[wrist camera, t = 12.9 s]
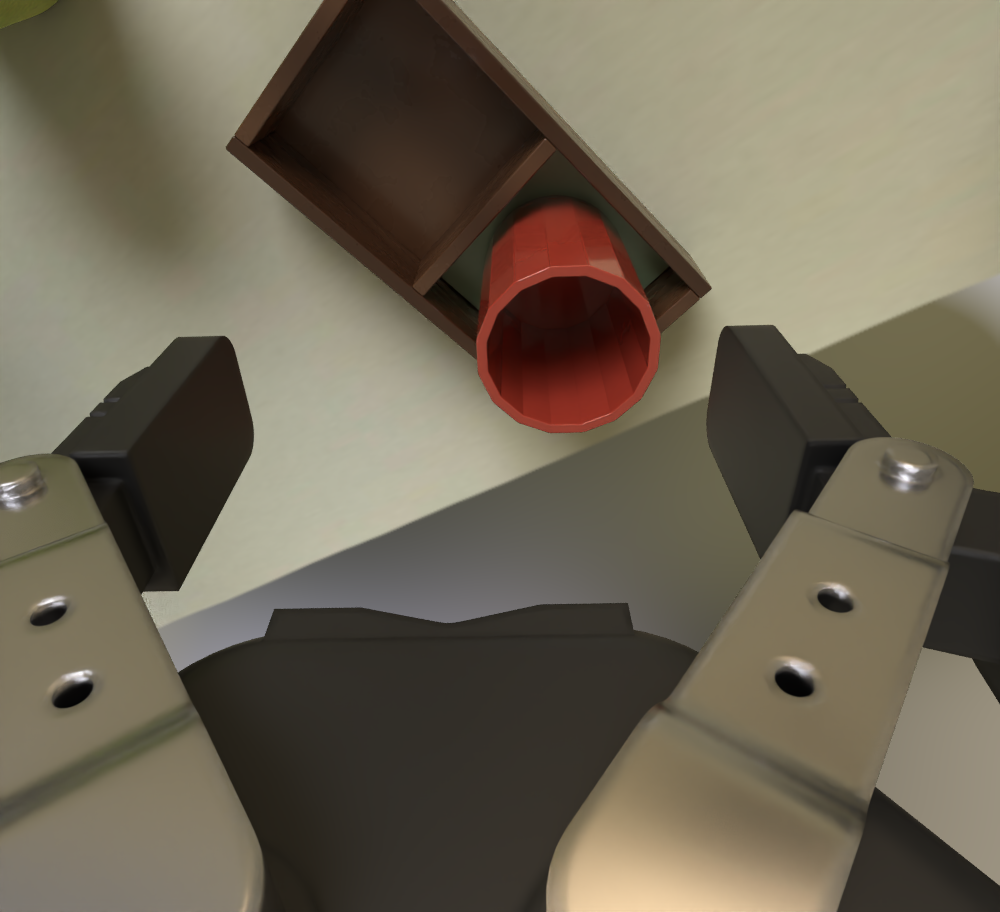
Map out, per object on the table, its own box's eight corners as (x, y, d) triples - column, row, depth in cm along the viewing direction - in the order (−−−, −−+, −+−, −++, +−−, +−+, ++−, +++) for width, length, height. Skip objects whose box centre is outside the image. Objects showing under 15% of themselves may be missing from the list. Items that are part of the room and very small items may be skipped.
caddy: (550, 383, 35) (555, 426, 31) (258, 129, 29) (224, 149, 25) (690, 255, 31) (712, 288, 28) (391, -65, 25) (372, -74, 22)
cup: (488, 332, 33) (481, 435, 25) (481, 197, 29) (471, 269, 22) (619, 328, 32) (652, 431, 25) (627, 192, 29) (668, 263, 22)
